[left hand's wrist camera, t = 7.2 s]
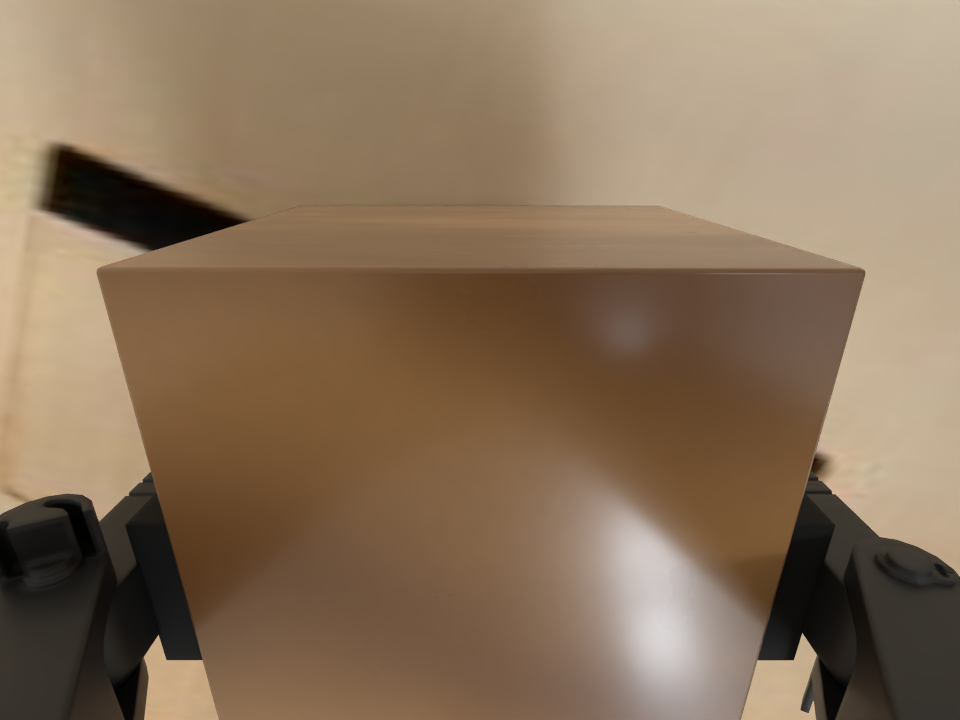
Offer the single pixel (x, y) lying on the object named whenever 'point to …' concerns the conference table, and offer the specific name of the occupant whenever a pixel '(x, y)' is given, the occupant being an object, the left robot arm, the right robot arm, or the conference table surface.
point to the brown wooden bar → (480, 453)
